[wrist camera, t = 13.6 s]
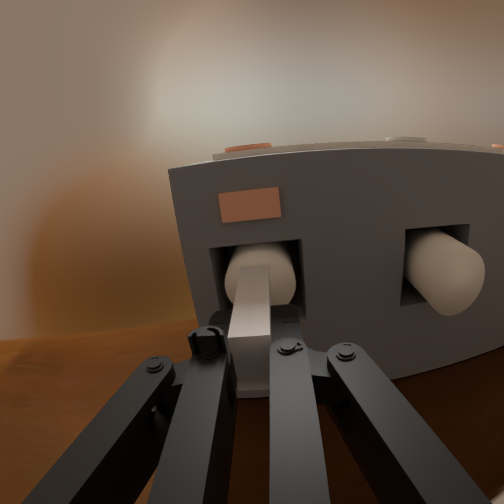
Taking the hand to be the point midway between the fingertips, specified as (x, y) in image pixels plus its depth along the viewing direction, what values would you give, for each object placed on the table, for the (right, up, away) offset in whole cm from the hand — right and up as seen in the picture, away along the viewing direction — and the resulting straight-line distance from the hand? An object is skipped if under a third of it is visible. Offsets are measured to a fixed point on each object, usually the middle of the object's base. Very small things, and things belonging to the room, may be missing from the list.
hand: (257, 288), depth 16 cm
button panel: (+12, -6, +6) cm, 15 cm away
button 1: (+1, -1, +3) cm, 4 cm away
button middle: (+11, -1, 0) cm, 11 cm away
